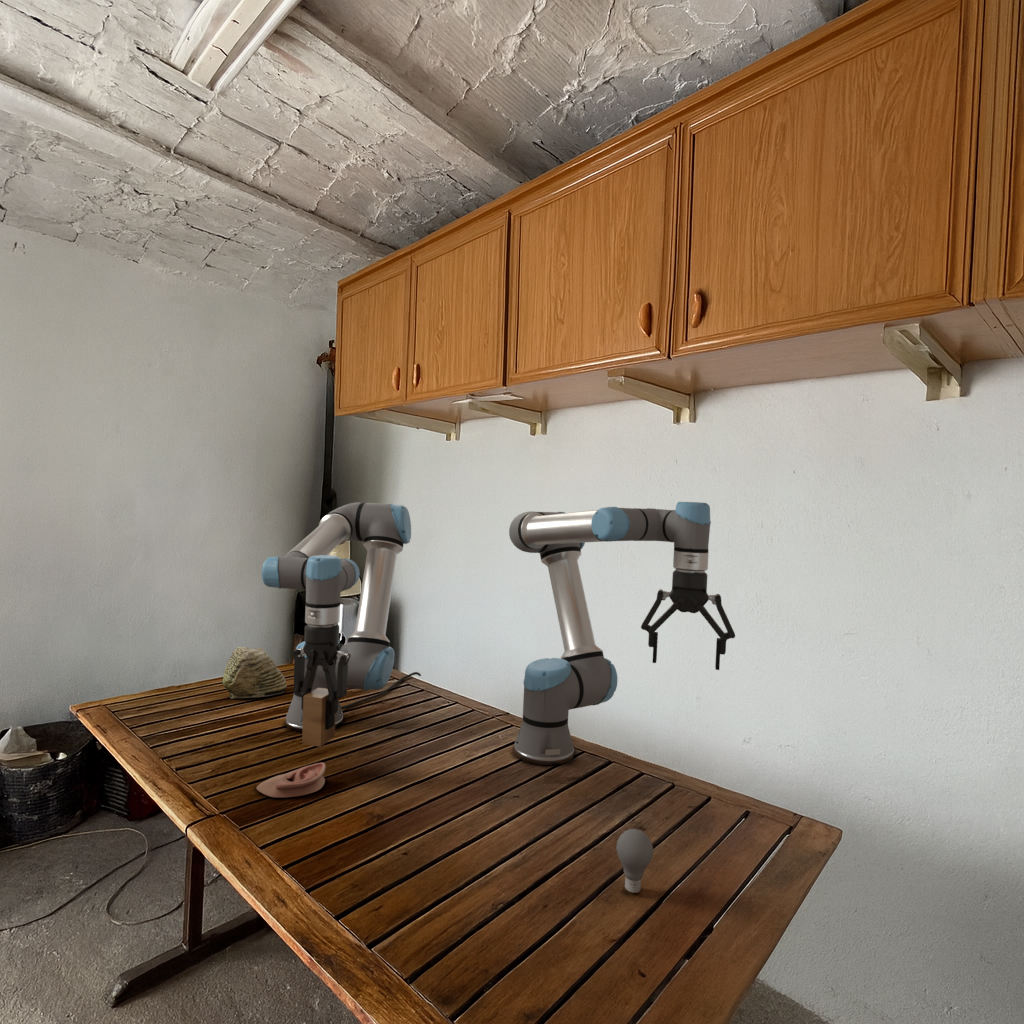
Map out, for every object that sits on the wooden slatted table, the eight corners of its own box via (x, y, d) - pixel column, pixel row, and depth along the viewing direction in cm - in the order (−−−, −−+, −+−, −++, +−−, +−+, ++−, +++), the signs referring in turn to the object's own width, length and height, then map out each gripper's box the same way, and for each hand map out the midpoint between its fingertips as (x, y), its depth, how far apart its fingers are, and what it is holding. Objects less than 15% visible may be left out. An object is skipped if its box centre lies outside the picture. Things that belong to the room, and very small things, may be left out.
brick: (316, 733, 148) (318, 687, 147) (334, 736, 147) (336, 689, 146) (302, 744, 142) (303, 695, 141) (320, 746, 141) (322, 698, 140)
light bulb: (610, 879, 108) (613, 822, 108) (644, 879, 109) (647, 822, 109) (619, 902, 102) (622, 840, 102) (655, 901, 103) (658, 840, 103)
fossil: (218, 695, 195) (220, 647, 195) (278, 685, 208) (279, 640, 207) (228, 703, 189) (230, 653, 188) (289, 692, 201) (290, 645, 201)
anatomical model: (248, 775, 133) (279, 754, 144) (247, 794, 133) (278, 771, 144) (306, 783, 130) (332, 761, 142) (305, 802, 130) (332, 779, 142)
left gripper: (277, 623, 142) (274, 726, 143) (349, 631, 138) (346, 737, 138) (296, 617, 149) (293, 715, 150) (365, 624, 145) (362, 724, 146)
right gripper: (632, 568, 142) (627, 662, 142) (750, 576, 135) (745, 675, 135) (635, 565, 149) (630, 655, 149) (747, 573, 142) (743, 667, 142)
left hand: (319, 725), depth 144 cm, fingers closed on brick, 5 cm apart
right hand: (685, 665), depth 142 cm, fingers open, 13 cm apart
